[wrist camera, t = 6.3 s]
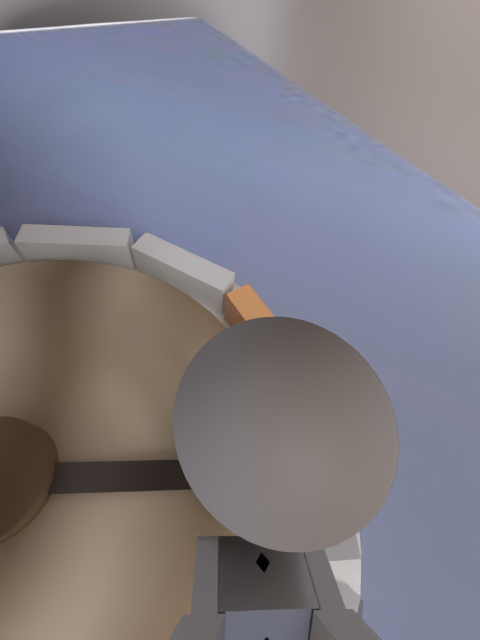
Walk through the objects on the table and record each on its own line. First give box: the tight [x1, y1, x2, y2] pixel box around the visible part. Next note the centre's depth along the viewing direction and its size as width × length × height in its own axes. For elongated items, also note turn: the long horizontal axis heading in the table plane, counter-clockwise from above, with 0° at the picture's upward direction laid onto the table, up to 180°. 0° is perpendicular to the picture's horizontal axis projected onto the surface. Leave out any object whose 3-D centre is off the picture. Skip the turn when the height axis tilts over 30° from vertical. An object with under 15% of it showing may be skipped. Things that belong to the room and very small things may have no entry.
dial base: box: [0, 224, 363, 618], centre depth 12 cm, size 28×28×4 cm
